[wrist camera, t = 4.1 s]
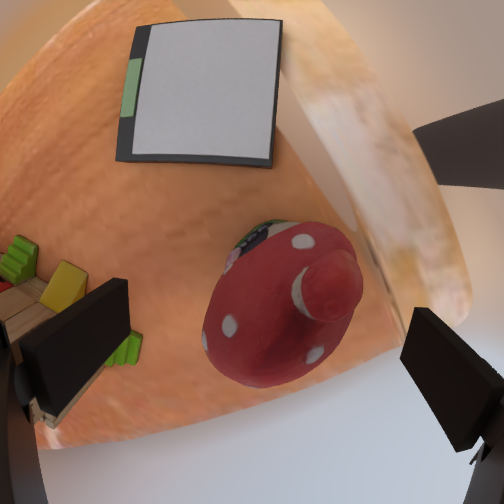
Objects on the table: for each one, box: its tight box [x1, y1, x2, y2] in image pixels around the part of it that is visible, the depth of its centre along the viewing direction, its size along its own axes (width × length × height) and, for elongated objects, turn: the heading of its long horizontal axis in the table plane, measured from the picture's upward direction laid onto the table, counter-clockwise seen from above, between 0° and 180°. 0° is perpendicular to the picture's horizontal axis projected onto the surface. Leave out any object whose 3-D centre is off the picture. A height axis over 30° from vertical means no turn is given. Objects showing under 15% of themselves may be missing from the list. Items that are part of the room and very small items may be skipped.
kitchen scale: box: [115, 18, 283, 169], centre depth 20 cm, size 12×12×3 cm
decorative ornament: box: [202, 220, 363, 389], centre depth 17 cm, size 9×6×15 cm
